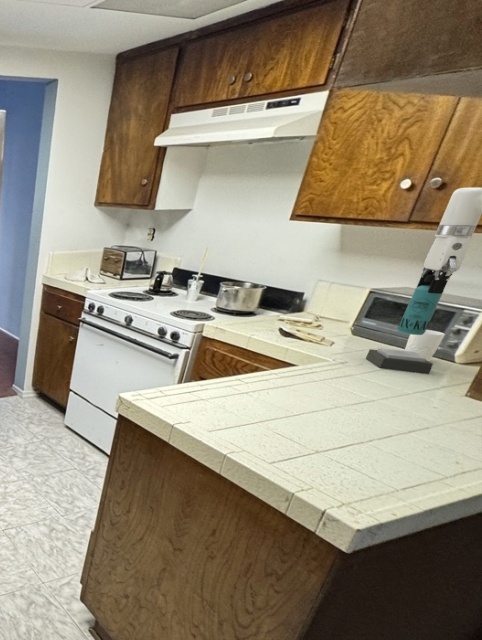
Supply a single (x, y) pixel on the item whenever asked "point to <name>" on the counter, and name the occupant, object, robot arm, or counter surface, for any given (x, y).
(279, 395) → the counter surface
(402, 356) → the pan
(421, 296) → the beverage bottle
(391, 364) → the scale
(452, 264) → the robot arm
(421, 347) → the white cup
